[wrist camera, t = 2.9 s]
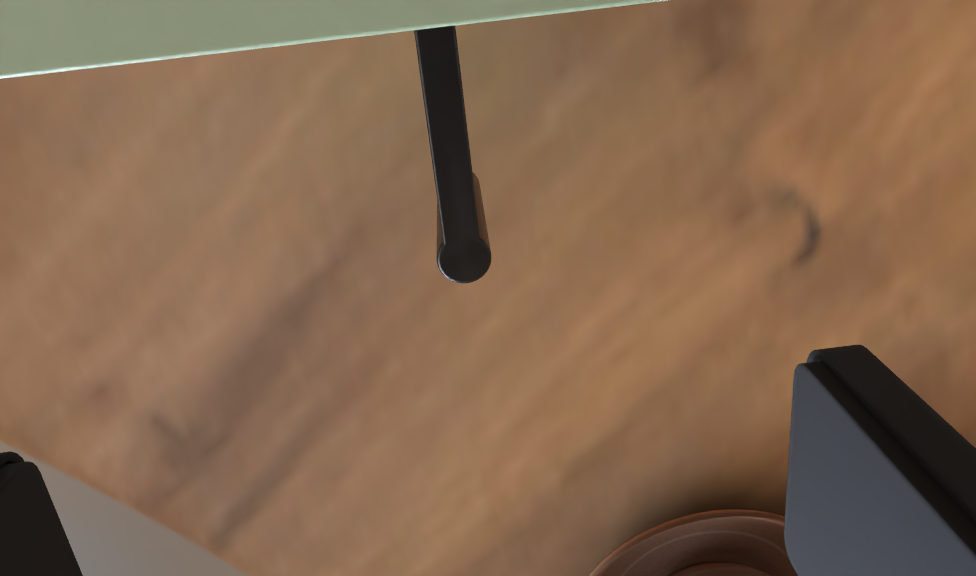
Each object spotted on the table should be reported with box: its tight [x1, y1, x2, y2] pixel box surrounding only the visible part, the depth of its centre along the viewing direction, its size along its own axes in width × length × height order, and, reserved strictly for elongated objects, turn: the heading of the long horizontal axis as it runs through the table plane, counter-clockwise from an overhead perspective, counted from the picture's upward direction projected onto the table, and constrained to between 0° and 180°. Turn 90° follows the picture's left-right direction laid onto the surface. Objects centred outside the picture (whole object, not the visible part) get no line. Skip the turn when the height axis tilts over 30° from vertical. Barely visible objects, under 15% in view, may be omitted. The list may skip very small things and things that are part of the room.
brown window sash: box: [414, 25, 491, 283], centre depth 18 cm, size 9×7×8 cm
